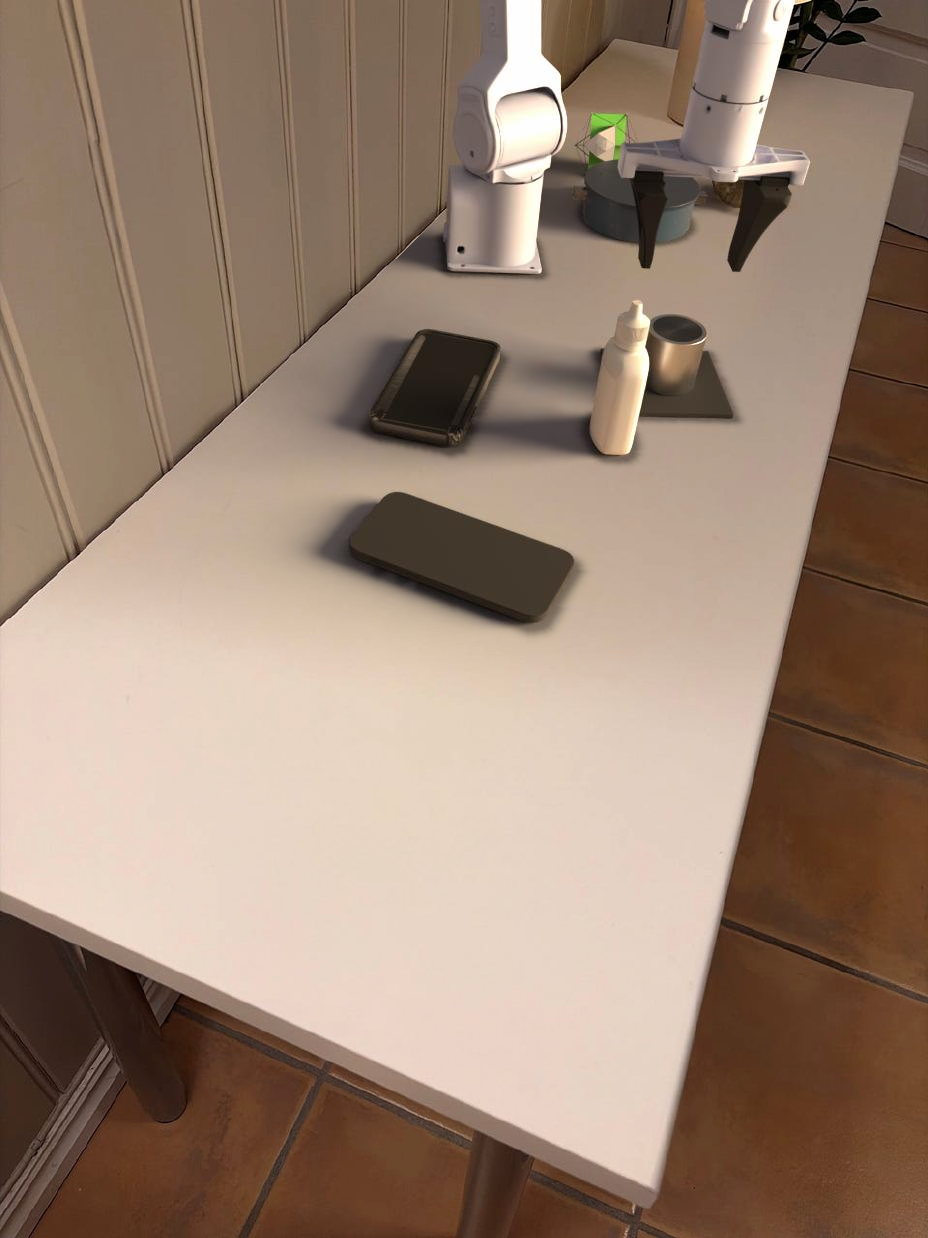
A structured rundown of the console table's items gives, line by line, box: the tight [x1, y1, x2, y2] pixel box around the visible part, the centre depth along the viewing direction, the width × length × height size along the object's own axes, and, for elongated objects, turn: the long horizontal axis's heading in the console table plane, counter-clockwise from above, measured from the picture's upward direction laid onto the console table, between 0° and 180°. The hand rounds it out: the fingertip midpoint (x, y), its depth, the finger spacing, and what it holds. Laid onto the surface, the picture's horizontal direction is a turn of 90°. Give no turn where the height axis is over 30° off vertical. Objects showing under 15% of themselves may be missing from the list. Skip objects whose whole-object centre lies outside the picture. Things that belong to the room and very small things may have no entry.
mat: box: [600, 347, 734, 419], centre depth 86 cm, size 10×10×1 cm
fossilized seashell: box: [711, 179, 790, 209], centre depth 113 cm, size 8×7×10 cm
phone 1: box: [369, 328, 502, 448], centre depth 83 cm, size 8×1×15 cm
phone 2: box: [347, 491, 575, 624], centre depth 69 cm, size 7×1×15 cm
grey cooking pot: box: [572, 159, 708, 244], centre depth 108 cm, size 15×13×4 cm
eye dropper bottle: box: [589, 299, 651, 456], centre depth 76 cm, size 4×6×12 cm
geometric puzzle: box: [574, 112, 638, 172], centre depth 115 cm, size 7×7×8 cm
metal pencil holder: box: [645, 313, 708, 396], centre depth 84 cm, size 5×5×5 cm
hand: (688, 264), depth 82 cm, fingers open, 7 cm apart
